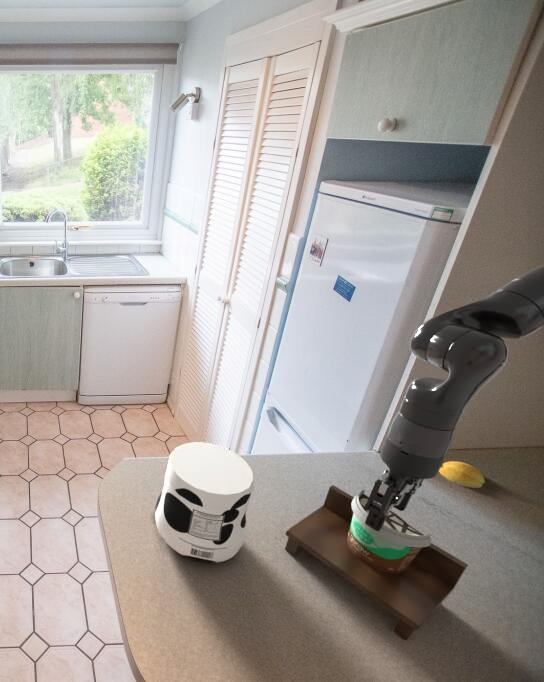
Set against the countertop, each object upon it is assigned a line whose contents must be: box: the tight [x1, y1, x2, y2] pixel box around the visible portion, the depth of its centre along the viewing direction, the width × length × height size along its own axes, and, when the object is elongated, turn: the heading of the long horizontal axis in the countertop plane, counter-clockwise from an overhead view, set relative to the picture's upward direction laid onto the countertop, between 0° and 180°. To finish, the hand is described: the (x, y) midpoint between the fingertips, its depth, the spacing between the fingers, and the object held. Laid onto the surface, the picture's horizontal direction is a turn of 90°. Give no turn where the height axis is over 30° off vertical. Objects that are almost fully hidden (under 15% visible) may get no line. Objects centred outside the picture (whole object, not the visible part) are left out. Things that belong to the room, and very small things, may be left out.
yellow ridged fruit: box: [438, 460, 486, 489], centre depth 107 cm, size 8×9×4 cm
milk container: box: [154, 441, 254, 564], centre depth 90 cm, size 17×17×18 cm
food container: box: [347, 488, 432, 573], centre depth 81 cm, size 12×6×10 cm, turn 21°
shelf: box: [284, 484, 469, 642], centre depth 83 cm, size 22×14×10 cm, turn 31°
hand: (384, 517), depth 79 cm, fingers open, 8 cm apart
